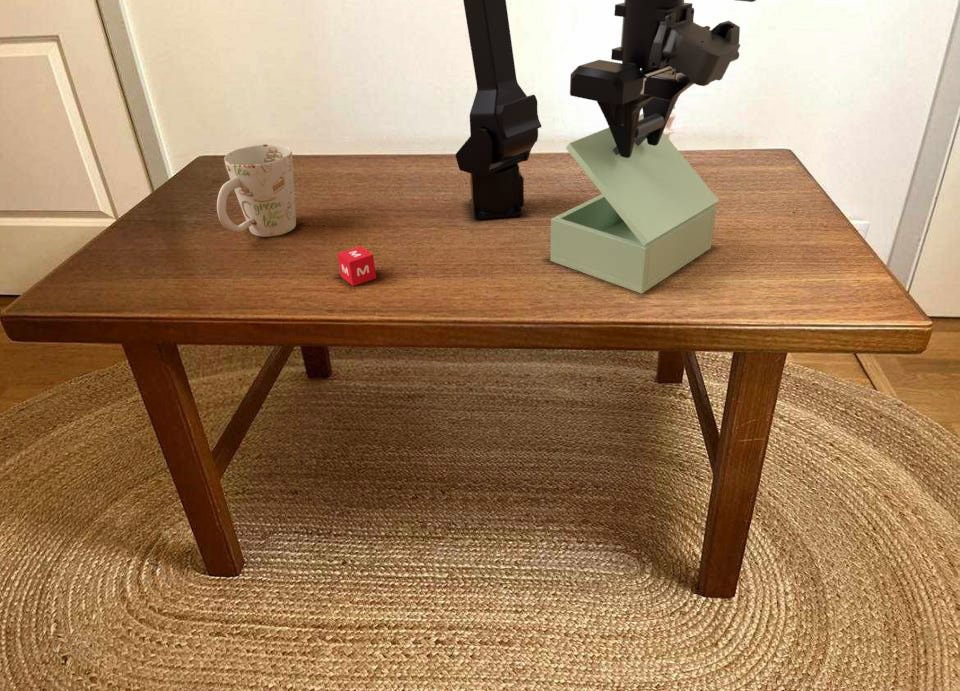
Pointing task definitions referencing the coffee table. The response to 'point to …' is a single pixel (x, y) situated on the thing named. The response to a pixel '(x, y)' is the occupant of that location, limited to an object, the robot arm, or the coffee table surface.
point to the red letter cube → (356, 265)
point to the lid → (644, 180)
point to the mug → (260, 189)
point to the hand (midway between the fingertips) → (639, 150)
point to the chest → (625, 245)
